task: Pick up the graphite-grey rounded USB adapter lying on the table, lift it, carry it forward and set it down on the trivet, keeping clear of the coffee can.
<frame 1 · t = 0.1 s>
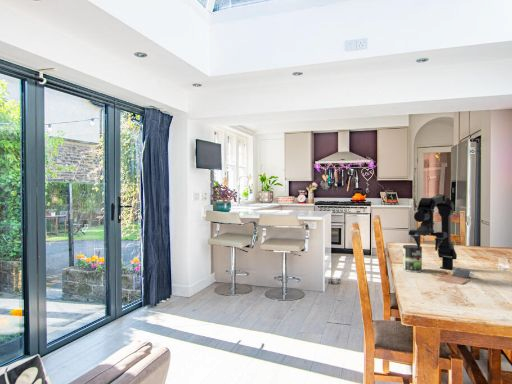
hand: (427, 249, 199), 15 cm above the table, tool pointing down, fingers open, 9 cm apart
coffee can: (412, 270, 214), on the table
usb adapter: (461, 276, 198), on the table
trivet: (453, 280, 191), on the table
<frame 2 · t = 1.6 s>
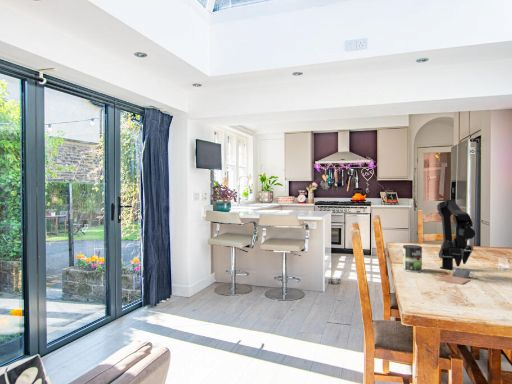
hand: (461, 265, 198), 6 cm above the table, tool pointing down, fingers open, 9 cm apart
nothing on the table moved.
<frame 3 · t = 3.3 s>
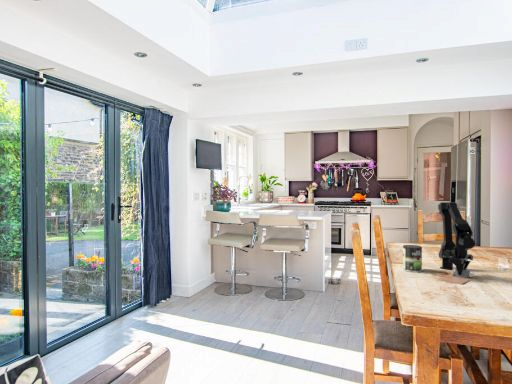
hand: (461, 274, 198), 1 cm above the table, tool pointing down, fingers closed on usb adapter, 4 cm apart
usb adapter: (461, 276, 198), on the table, touching gripper
everything else where it was.
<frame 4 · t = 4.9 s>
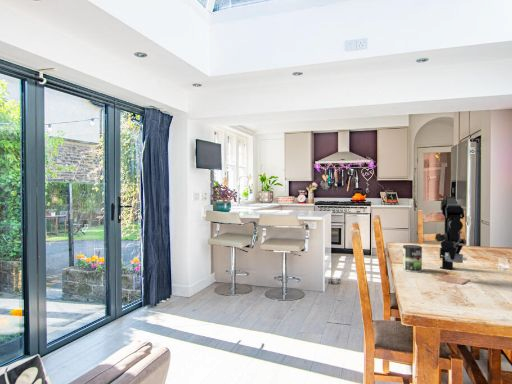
hand: (453, 259, 191), 11 cm above the table, tool pointing down, fingers closed on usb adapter, 4 cm apart
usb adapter: (453, 261, 191), point 10 cm above the table, touching gripper
everything else where it was.
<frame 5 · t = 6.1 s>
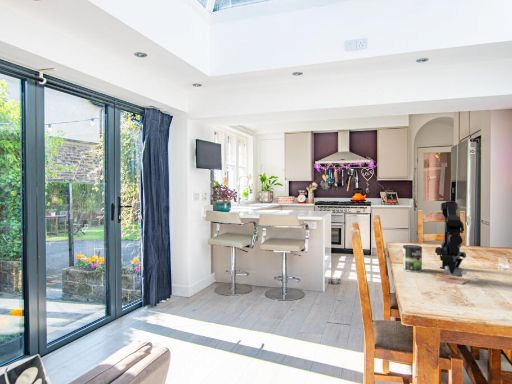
hand: (453, 272, 191), 4 cm above the table, tool pointing down, fingers closed on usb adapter, 4 cm apart
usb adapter: (453, 275, 191), point 3 cm above the table, touching gripper
everything else where it was.
when the fingers open (3 cm above the table, at t = 7.0 s): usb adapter drops 1 cm, resting on trivet.
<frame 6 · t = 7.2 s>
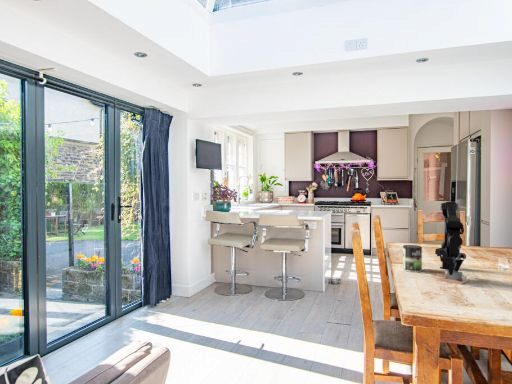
hand: (453, 274, 191), 3 cm above the table, tool pointing down, fingers open, 6 cm apart
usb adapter: (453, 279, 191), point 1 cm above the table, touching trivet
everything else where it was.
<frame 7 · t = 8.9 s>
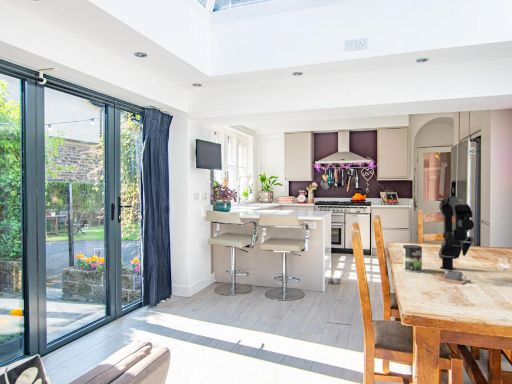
hand: (460, 256, 195), 11 cm above the table, tool pointing down, fingers open, 9 cm apart
nothing on the table moved.
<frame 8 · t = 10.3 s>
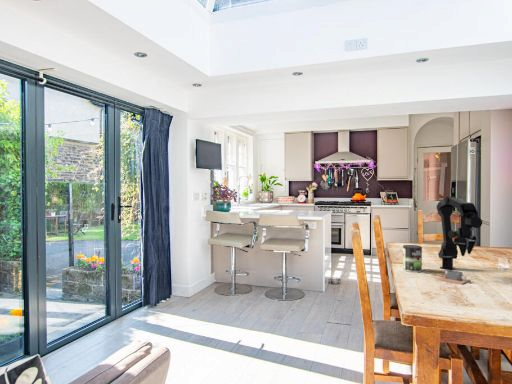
hand: (466, 255, 197), 12 cm above the table, tool pointing down, fingers open, 9 cm apart
nothing on the table moved.
at the end: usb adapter 0.1 cm from the trivet (horizontally); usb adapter point 0.6 cm above the table; the gripper is holding nothing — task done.
